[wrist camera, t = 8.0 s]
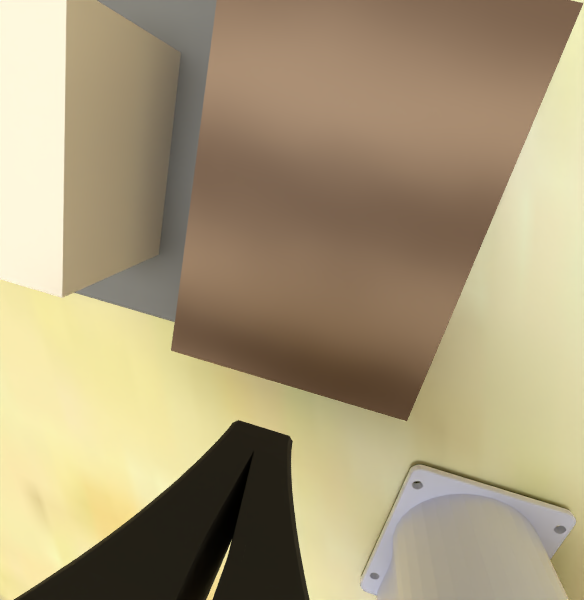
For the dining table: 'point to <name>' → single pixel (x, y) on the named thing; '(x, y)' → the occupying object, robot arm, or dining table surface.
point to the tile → (80, 142)
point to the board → (353, 182)
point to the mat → (185, 134)
